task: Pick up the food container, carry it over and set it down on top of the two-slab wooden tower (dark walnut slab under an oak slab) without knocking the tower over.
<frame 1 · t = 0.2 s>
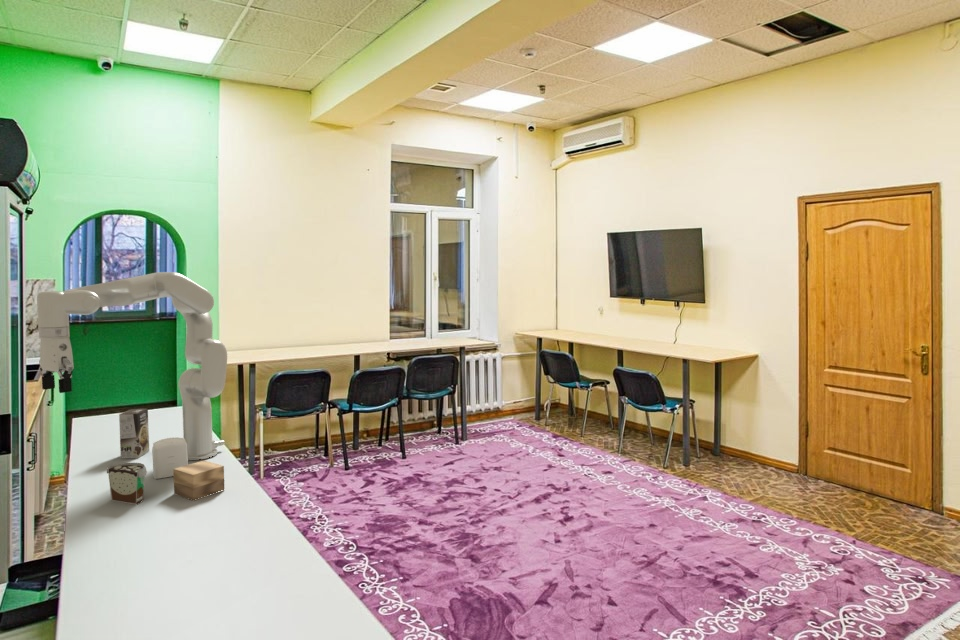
hand: (57, 390, 185), 31 cm above the table, tool pointing down, fingers open, 9 cm apart
coffee box: (135, 455, 227), on the table
oak slab: (199, 480, 188), point 4 cm above the table, touching walnut slab
photo printer: (171, 476, 203), on the table
walnut slab: (199, 493, 188), on the table, touching oak slab
food container: (133, 499, 182), on the table
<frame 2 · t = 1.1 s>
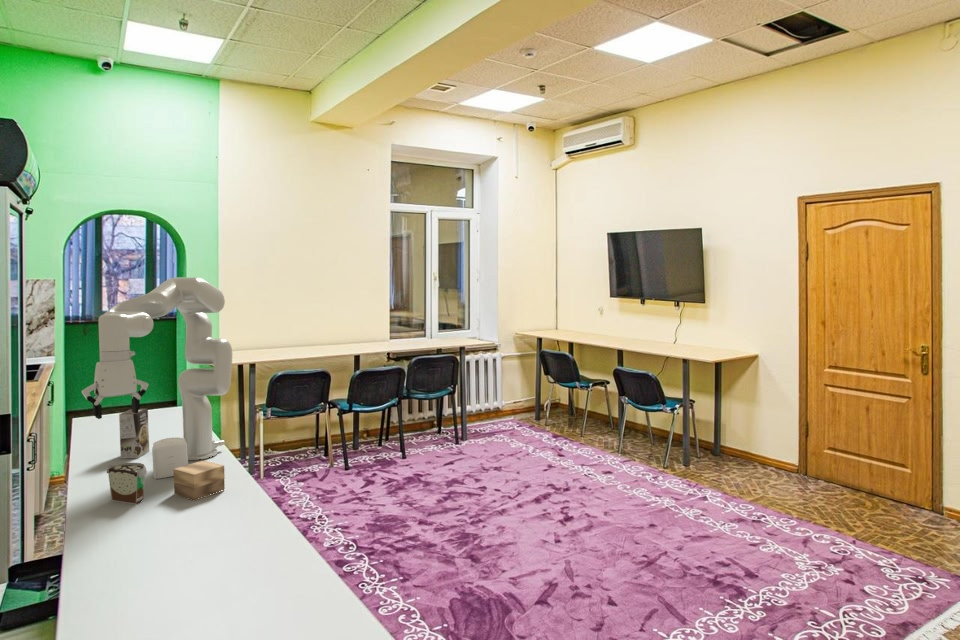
hand: (117, 415, 181), 25 cm above the table, tool pointing down, fingers open, 9 cm apart
nothing on the table moved.
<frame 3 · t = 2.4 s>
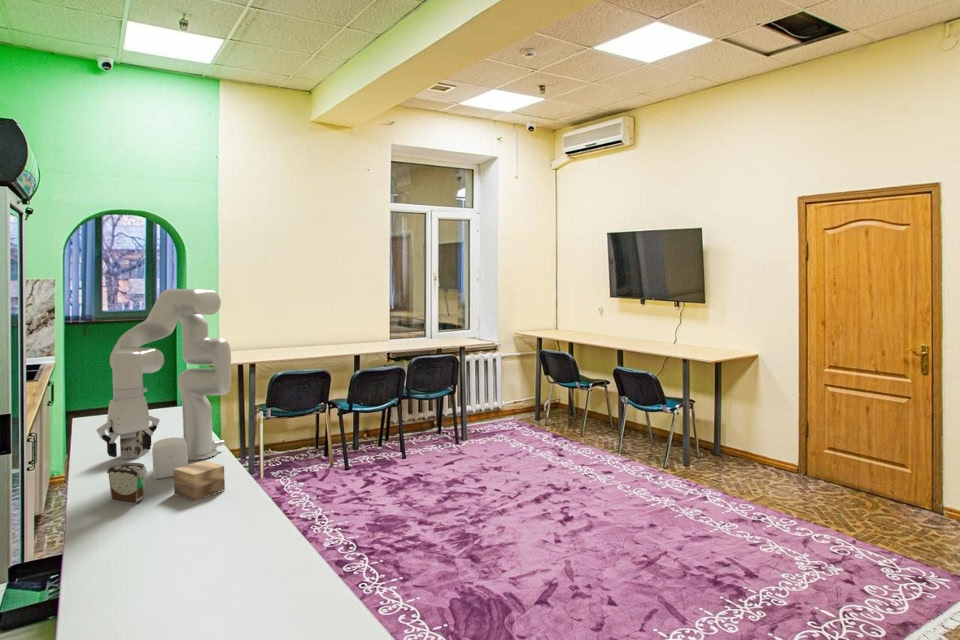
hand: (130, 452, 181), 14 cm above the table, tool pointing down, fingers open, 9 cm apart
nothing on the table moved.
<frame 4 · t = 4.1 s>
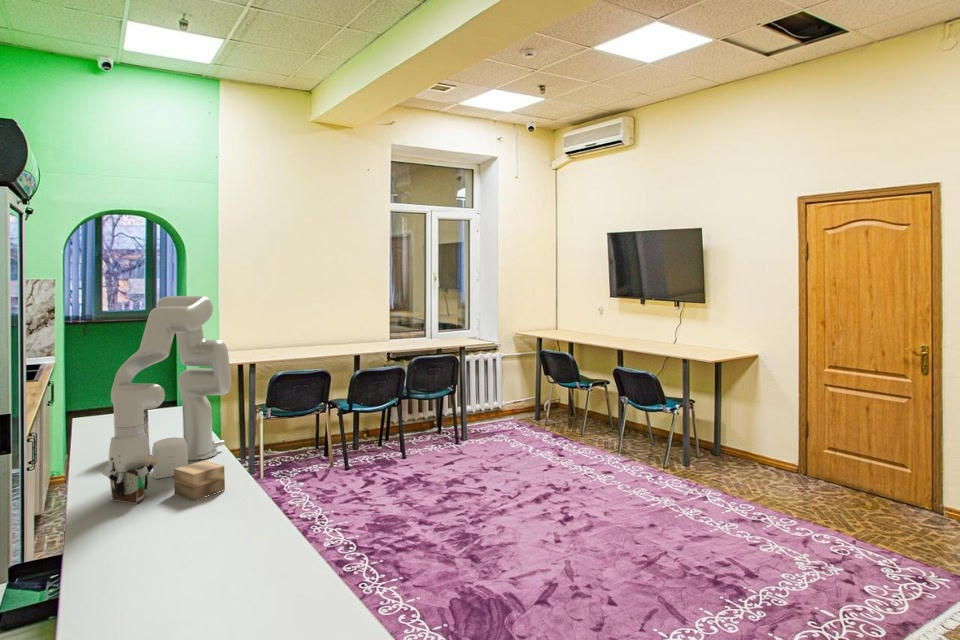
hand: (131, 491, 182), 2 cm above the table, tool pointing down, fingers open, 6 cm apart
food container: (133, 499, 182), on the table, touching gripper
everything else where it was.
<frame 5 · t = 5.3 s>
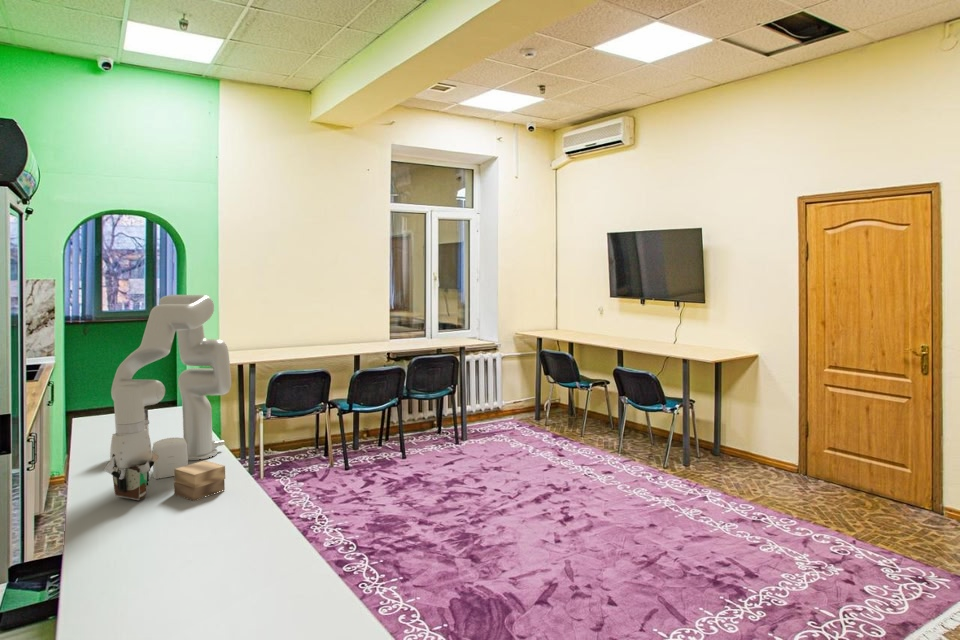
hand: (133, 487, 183), 3 cm above the table, tool pointing down, fingers closed on food container, 5 cm apart
food container: (136, 494, 184), point 1 cm above the table, touching gripper
everything else where it was.
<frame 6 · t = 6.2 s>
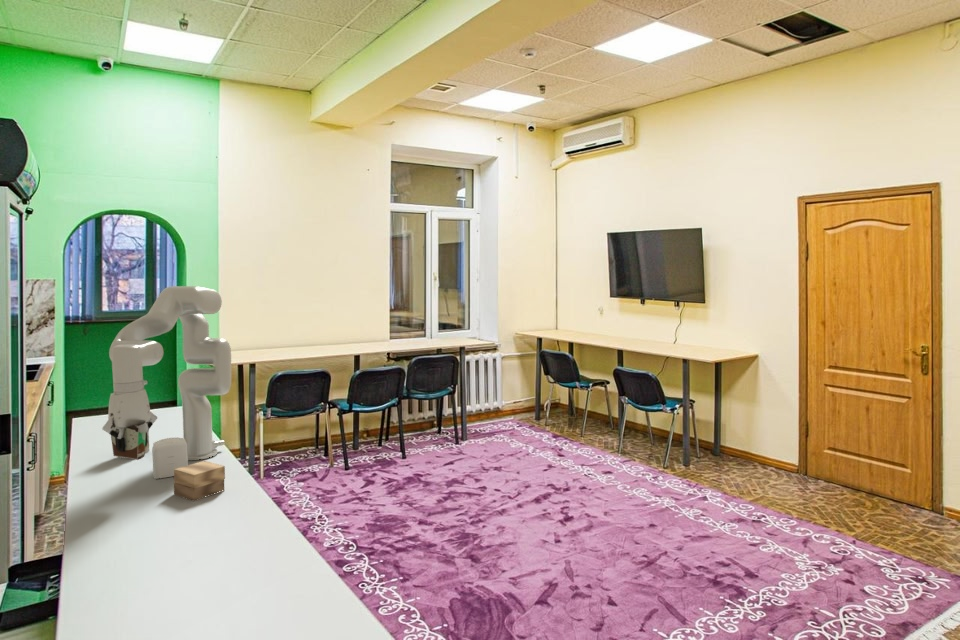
hand: (132, 447, 182), 15 cm above the table, tool pointing down, fingers closed on food container, 5 cm apart
oak slab: (199, 480, 188), point 4 cm above the table
walnut slab: (199, 494, 188), on the table
food container: (134, 455, 183), point 13 cm above the table, touching gripper
everything else where it was.
when the fingers open (11 cm above the table, at t = 10.8 s): food container drops 1 cm, resting on oak slab.
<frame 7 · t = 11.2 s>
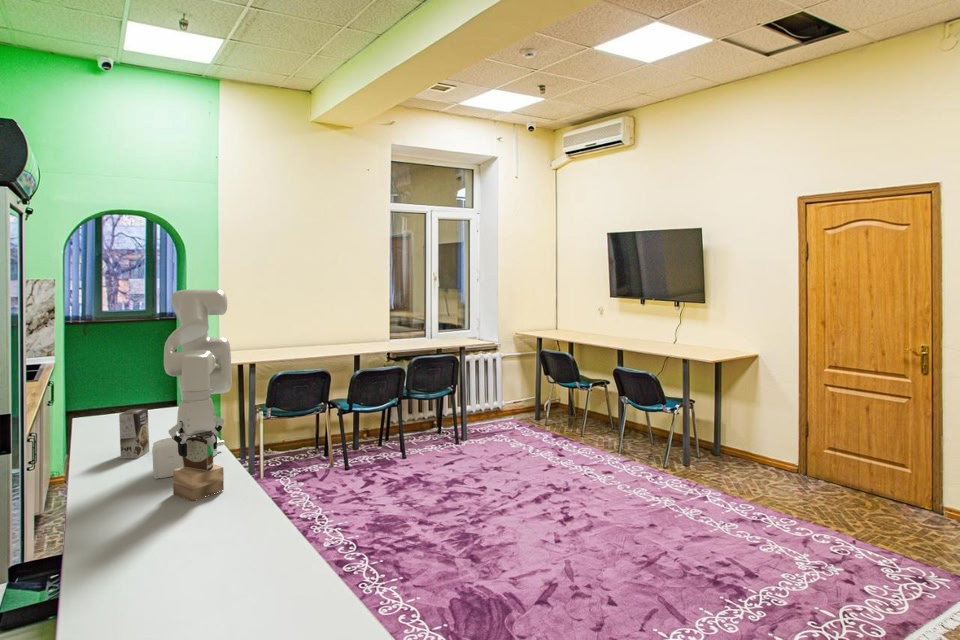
hand: (198, 452, 187), 12 cm above the table, tool pointing down, fingers open, 9 cm apart
oak slab: (198, 481, 187), point 3 cm above the table, touching food container, walnut slab
walnut slab: (198, 494, 187), on the table, touching oak slab
food container: (203, 466, 189), point 7 cm above the table, touching gripper, oak slab
everything else where it was.
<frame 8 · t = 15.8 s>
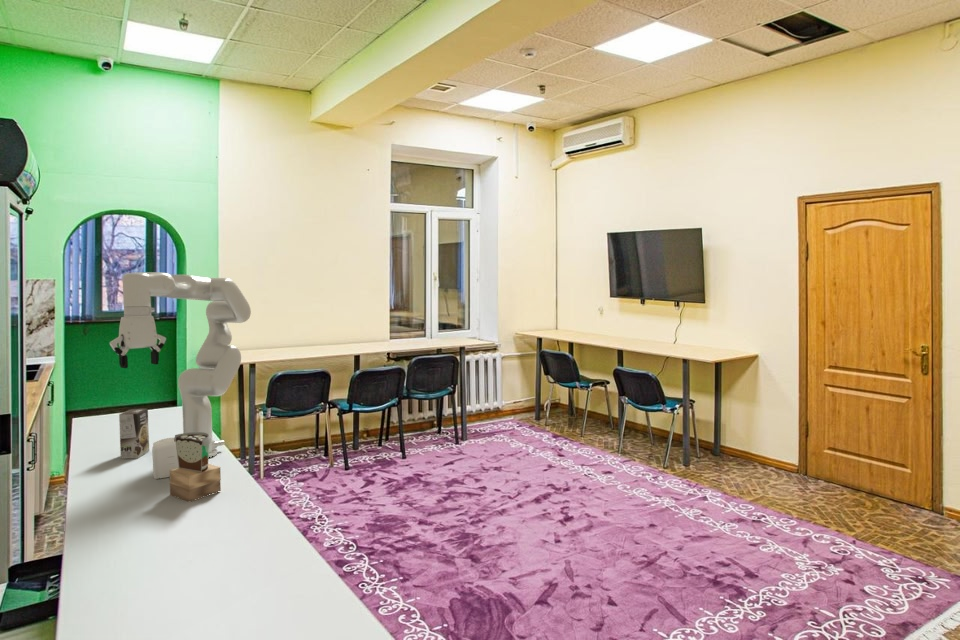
hand: (139, 365, 198), 36 cm above the table, tool pointing down, fingers open, 9 cm apart
food container: (198, 467, 188), point 7 cm above the table, touching oak slab
at the end: food container 1.4 cm from the oak slab (horizontally); food container point 7.4 cm above the table; oak slab moved 1.3 cm from its start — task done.
